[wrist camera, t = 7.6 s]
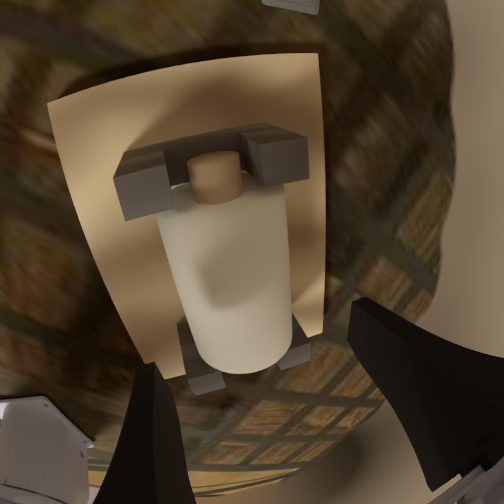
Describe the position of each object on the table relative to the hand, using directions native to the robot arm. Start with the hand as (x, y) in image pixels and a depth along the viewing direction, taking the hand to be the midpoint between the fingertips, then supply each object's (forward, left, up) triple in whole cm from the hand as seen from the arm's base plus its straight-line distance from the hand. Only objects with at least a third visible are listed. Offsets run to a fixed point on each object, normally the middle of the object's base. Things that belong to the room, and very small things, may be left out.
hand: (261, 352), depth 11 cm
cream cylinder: (0, 0, -5) cm, 5 cm away
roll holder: (0, 0, -9) cm, 9 cm away
